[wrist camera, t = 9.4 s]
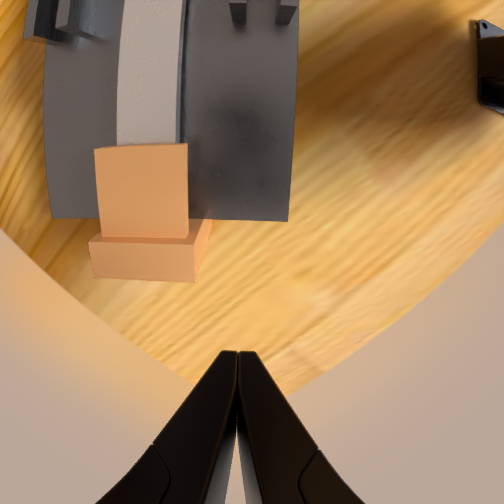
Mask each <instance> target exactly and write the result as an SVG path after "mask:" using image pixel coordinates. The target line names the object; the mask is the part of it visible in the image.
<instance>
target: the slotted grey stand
mask: <svg viewBox="0 0 504 504" xmlns="http://www.w3.org/2000/svg"><path fill="white" fill-rule="evenodd" d="M124 3H125V0H29V2H28V8H27V14H26V20H25V27H24V35H23V39H25V40H30V41H34V42H39V43H43V44H46V51H45V65H44V87H43V126H44V149H45V163H46V174H47V184H48V193H49V201H50V208H51V215H52V218H100V216H99V207H98V197H97V186H96V172H95V155H94V149H96V148H100V147H108V146H117V87H118V66H119V51H120V39H121V29H122V19H123V11H124ZM298 29H299V0H186V11H185V24H184V37H183V53H182V72H181V97H180V143H188V219H220V220H254V221H281V222H288V212H289V199H290V185H291V171H292V155H293V139H294V122H295V103H296V82H297V58H298Z"/></svg>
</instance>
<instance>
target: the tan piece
mask: <svg viewBox="0 0 504 504" xmlns="http://www.w3.org/2000/svg"><path fill="white" fill-rule="evenodd" d="M94 155H95V172H96V186H97V197H98V207H99V216H100V225H101V230H100V231H99V232H98V233H97V234H96V235H95V236H94V237H93V238H92V239H90V240H89V241H88V246H89V253H90V258H91V264H92V269H93V275H94V277H96V278H111V279H128V280H146V281H166V282H188V283H195V282H196V278H197V275H198V271H199V268H200V265H201V261H202V258H203V254H204V251H205V248H206V244H207V241H208V238H209V234H210V231H211V228H212V225H213V219H188V143H165V144H140V145H122V146H108V147H100V148H96V149H94Z"/></svg>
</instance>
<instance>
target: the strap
mask: <svg viewBox="0 0 504 504" xmlns="http://www.w3.org/2000/svg"><path fill="white" fill-rule="evenodd" d="M185 11H186V0H125V3H124V11H123V19H122V29H121V39H120V51H119V66H118V87H117V146H122V145H140V144H165V143H180V97H181V72H182V53H183V37H184V24H185Z"/></svg>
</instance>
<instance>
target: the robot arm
mask: <svg viewBox="0 0 504 504" xmlns="http://www.w3.org/2000/svg"><path fill="white" fill-rule="evenodd" d="M482 25H483V26H484V28H483V26H482ZM476 27H477V44H478V102H479V103H480V105H482V106H484V107H487V108H489V109H492V110H494V111H497V112H499V113H502V114H504V30H502V29H500V28H499V27H497V26H495V25H493V24H491V23H489V22H487V21H486V20H483V19H482V20H478V21H477V22H476ZM484 97H485V101H484ZM236 430H237V437H238V446H239V454H240V461H241V469H242V476H243V484H244V491H245V498H246V504H365V503H364V502H363V501H362V500H361V499H360V498H359V497H358V496H357V495H356V494H355V493H354V492H353V491H352V489H351V488H350V487H349V486H348V485H347V484H346V483H345V482H344V481H343V479H341V477H340V476H339V474H338V473H337V472H336V471H335V469H334V468H333V467H332V465H331V464H330V463H329V461H328V460H327V459H326V457H325V456H324V454H323V453H322V451H321V450H318V446H317V444H316V443H315V442H314V440H313V439H312V437H311V436H310V434H309V433H308V431H307V430H306V428H305V427H304V425H303V424H302V422H301V421H300V419H299V418H298V416H297V415H296V413H295V412H294V410H293V409H292V407H291V406H290V404H289V403H288V402H287V400H286V398H285V397H284V395H283V394H282V392H281V390H280V389H279V387H278V386H277V384H276V383H275V381H274V380H273V378H272V377H271V375H270V373H269V372H268V370H267V369H266V367H265V366H264V364H263V362H262V361H261V359H260V358H259V356H258V354H257V353H256V352H255V351H240V352H239V354H238V352H237V351H232V350H222V351H221V352H220V353H219V354H218V356H217V357H216V358H215V360H214V361H213V363H212V364H211V365H210V367H209V368H208V369H207V371H206V372H205V373H204V375H203V376H202V378H201V379H200V380H199V382H198V383H197V384H196V386H195V387H194V388H193V390H192V391H191V393H190V394H189V395H188V397H187V398H186V399H185V401H184V402H183V403H182V404H181V406H180V407H179V408H178V410H177V411H176V412H175V414H174V415H173V416H172V418H171V419H170V420H169V422H168V423H167V424H166V426H165V427H164V428H163V430H162V431H161V432H160V434H159V435H158V436H157V437H156V439H155V440H154V441H153V445H150V446H149V447H148V449H147V450H146V451H145V453H144V454H143V455H142V456H141V458H140V459H139V460H138V461H137V462H136V463H135V465H134V466H133V467H132V468H131V469H130V471H129V472H128V473H127V474H126V475H125V476H124V477H123V478H122V479H121V480H120V481H119V482H118V483H117V484H116V485H115V486H114V487H113V488H112V489H111V490H110V491H108V492H107V493H106V494H105V495H104V496H103V497H102V498H101V499H100V500H99V501H97V502H96V503H95V504H225V498H226V493H227V487H228V481H229V475H230V469H231V463H232V457H233V451H234V445H235V439H236Z"/></svg>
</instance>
